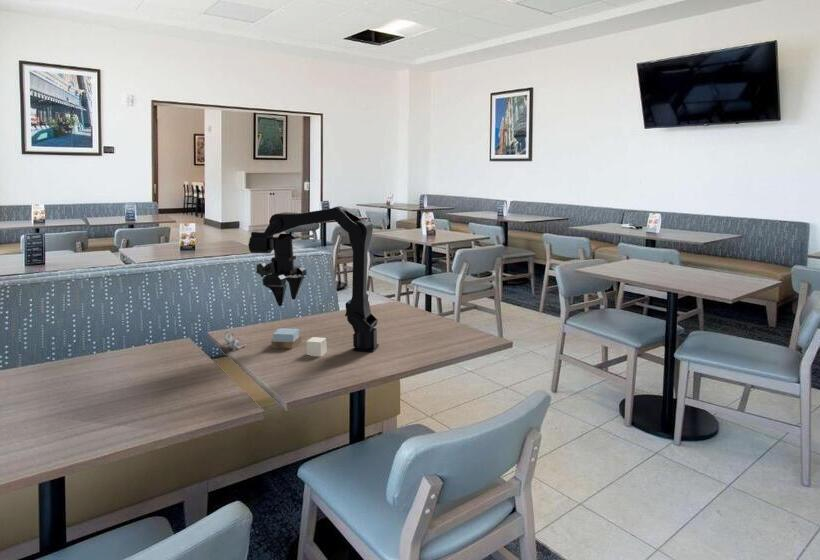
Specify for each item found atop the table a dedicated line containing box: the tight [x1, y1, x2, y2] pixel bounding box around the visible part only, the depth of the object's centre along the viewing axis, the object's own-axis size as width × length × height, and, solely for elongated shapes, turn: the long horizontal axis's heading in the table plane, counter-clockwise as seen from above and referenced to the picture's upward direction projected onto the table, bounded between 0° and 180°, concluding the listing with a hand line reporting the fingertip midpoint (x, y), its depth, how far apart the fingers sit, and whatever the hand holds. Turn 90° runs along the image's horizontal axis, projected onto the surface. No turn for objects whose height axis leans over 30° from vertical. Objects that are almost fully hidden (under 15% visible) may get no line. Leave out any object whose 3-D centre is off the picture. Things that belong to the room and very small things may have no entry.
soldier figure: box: [223, 329, 247, 350], centre depth 183 cm, size 8×5×12 cm
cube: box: [305, 336, 328, 357], centre depth 176 cm, size 4×4×4 cm
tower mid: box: [272, 327, 300, 342], centre depth 184 cm, size 6×6×2 cm
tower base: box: [270, 335, 302, 350], centre depth 185 cm, size 7×7×2 cm
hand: (287, 302), depth 183 cm, fingers open, 9 cm apart
